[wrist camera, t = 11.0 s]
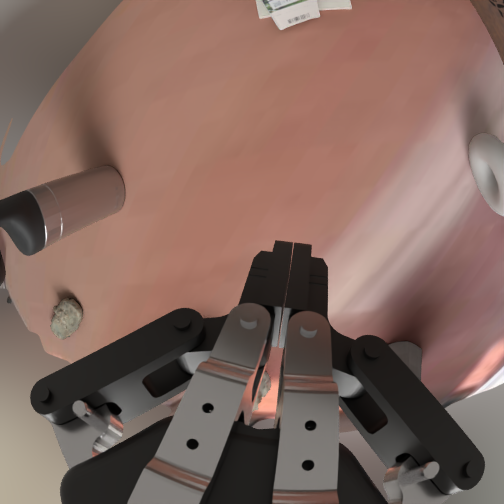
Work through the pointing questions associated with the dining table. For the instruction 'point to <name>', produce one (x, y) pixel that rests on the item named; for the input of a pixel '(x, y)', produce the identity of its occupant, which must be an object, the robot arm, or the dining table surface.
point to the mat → (324, 1)
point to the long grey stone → (66, 318)
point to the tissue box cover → (493, 20)
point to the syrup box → (291, 11)
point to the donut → (488, 169)
